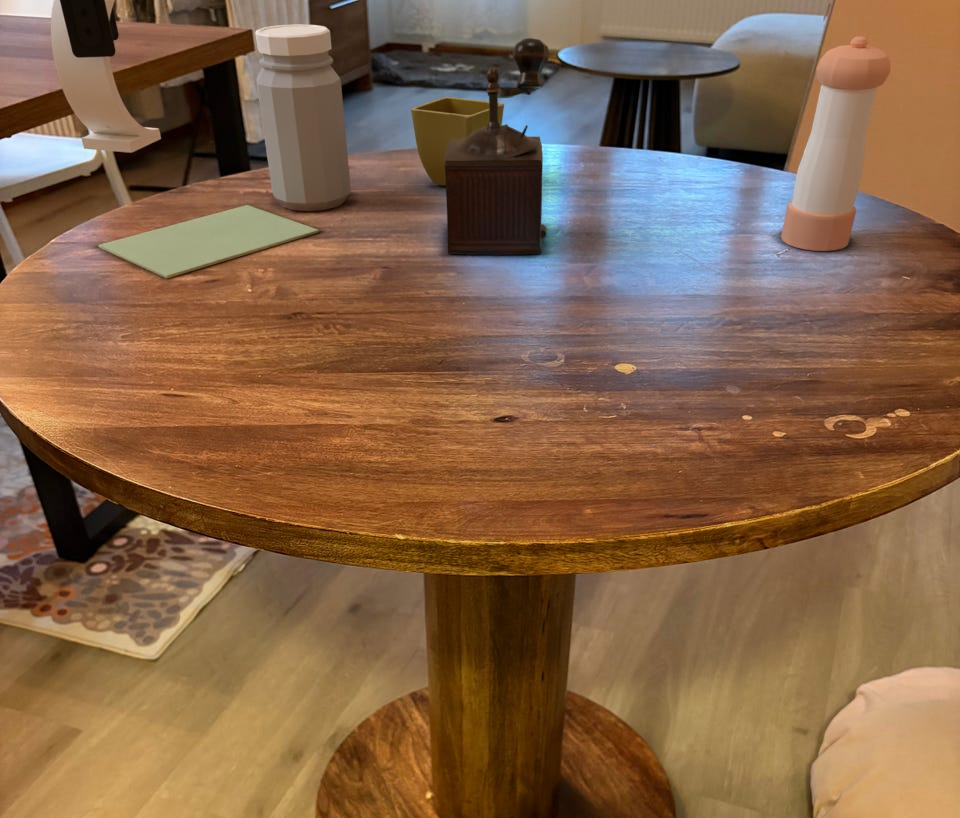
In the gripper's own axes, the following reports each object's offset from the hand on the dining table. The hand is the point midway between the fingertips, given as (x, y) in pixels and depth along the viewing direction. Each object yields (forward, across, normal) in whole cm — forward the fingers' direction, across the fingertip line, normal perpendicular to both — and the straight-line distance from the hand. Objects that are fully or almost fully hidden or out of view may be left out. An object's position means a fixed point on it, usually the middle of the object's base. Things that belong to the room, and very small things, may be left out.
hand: (97, 46), depth 75 cm
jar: (+21, -30, +19) cm, 41 cm away
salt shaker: (+21, 0, +71) cm, 74 cm away
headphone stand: (+8, 0, 0) cm, 8 cm away
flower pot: (+21, -32, +38) cm, 55 cm away
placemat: (+21, -19, +6) cm, 29 cm away
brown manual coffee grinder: (+21, -12, +38) cm, 45 cm away
